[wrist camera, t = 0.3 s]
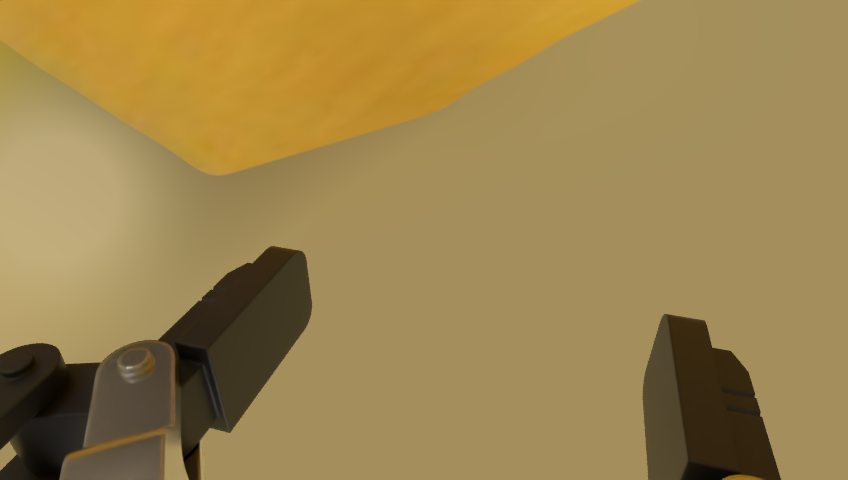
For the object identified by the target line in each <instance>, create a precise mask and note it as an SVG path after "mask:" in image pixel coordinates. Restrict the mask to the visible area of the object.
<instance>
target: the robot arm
mask: <svg viewBox="0 0 848 480" xmlns="http://www.w3.org/2000/svg"><path fill="white" fill-rule="evenodd" d="M311 309H312V300H311V293H310V285H309V277H308V269H307V262H306V257H305V254H304V253H303V252H302V251H298V250H292V249H286V248H281V247H275V246H271V247H269V248H268V249H266V250H265V251H264V253H262V255H260V256H259V258H257V259H256V261H254V263H252V264H251V263H246V264H244V265H243V266H241V267H239V268H237V269H235V270H233V271H231V272H230V273H227V275H225V276H224V277H223V278H222V279H221V280H220V281H219V282H218V283H217V284H216V285H215V286H214V289H213V290H210V291H209V292H208V293H207V294H206V295H205V296H203V297H202V301H198V302H197V303H196V304H195V305H194V306H193V307H192V308H191V309H190V310H189V311H188V312H187V313H186V314H185V315H184V316H183V317H182V318H181V319H180V320H178V322H176V323H175V324H174V325H173V326H172V327H171V328H170V329H169V330H168V331H167V332H166V333H165V334H164V335H163V336H162V337H161V338H160V339H159V340H144V341H138V342H135V343H131V344H129V345H126V346H123V347H121V348H120V349H118V350H116V351H114V352H113V353H111V354H110V355H109V356H107V357H106V358H105V359H104V360H103V361H102V363H81V364H65V362H64V360H63V358H62V356H61V353H60V352H59V350H58V349H57V348H56V347H55V346H53V345H49V344H44V343H36V344H29V345H24V346H20V347H17V348H14V349H12V350H9V351H7V352H5V353H3V354H1V355H0V450H1V449H2V448H3V447H4V446H5V445H6V444H7V443H8V442H9V441H10V443H11V445H12V446H13V448H14V450H15V451H16V453H17V455H16V456H15V457H14V458H13V459H12V460H11V461H10V462H9V463H8V464H7V465H6V466H5V467H4V468H3V469H2V470H1V471H0V480H205V461H204V460H205V459H204V445H203V441H202V437H203V436H204V434H205V433H206V432H207V431H208V429H209V428H214V429H217V430H221V431H225V432H228V433H230V432H231V431H232V429H233V427H235V425H236V424H237V422H238V421H239V420H240V418H241V417H242V415H243V414H244V413H245V411H246V410H247V409H248V407H249V406H250V404H251V403H252V402H253V400H254V399H255V397H256V396H257V395H258V393H259V392H260V391H261V389H262V388H263V386H264V385H265V384H266V382H267V381H268V379H269V378H270V377H271V375H272V374H273V372H274V371H275V370H276V368H277V367H278V366H279V364H280V363H281V361H282V360H283V359H284V357H285V356H286V354H287V353H288V352H289V350H290V349H291V347H292V346H293V345H294V343H295V342H296V340H297V339H298V338H299V336H300V335H301V334H302V332H303V331H304V329H305V328H306V326H307V324H308V322H309V319H310V316H311ZM643 408H644V422H645V437H646V451H647V465H648V479H649V480H781V478H780V475H779V472H778V468H777V465H776V462H775V459H774V455H773V452H772V448H771V445H770V442H769V439H768V435H767V432H766V429H765V425H764V422H763V419H762V417H760V409H759V406H758V402H757V399H756V398H755V392H754V389H753V386H752V382H751V379H750V376H749V373H748V371H747V370H746V369H745V367H744V366H743V365H742V364H741V363H740V361H739V360H738V359H737V358H736V357H735V356H734V354H733V353H732V352H731V351H728V350H721V349H716V348H712V345H711V341H710V337H709V333H708V329H707V325H706V322H705V321H704V320H698V319H692V318H686V317H680V316H674V315H668V314H664V315H663V317H662V319H661V321H660V324H659V328H658V331H657V334H656V338H655V341H654V344H653V348H652V351H651V355H650V358H649V361H648V365H647V368H646V372H645V377H644V384H643Z"/></svg>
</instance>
